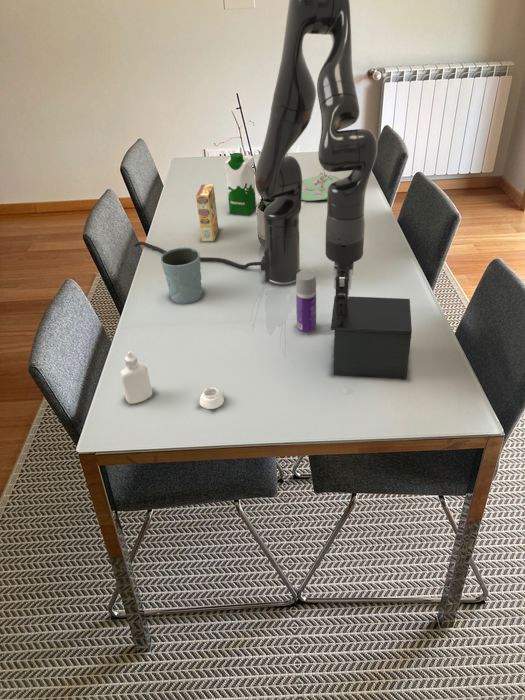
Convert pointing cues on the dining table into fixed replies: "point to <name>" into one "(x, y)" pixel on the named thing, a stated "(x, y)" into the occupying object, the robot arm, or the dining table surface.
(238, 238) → the dining table surface
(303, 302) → the container
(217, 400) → the lidless jar
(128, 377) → the eye dropper bottle
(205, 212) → the candy box
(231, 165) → the milk carton
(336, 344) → the bin
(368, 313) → the bin lid
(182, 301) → the grey-green cup
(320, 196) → the plant
